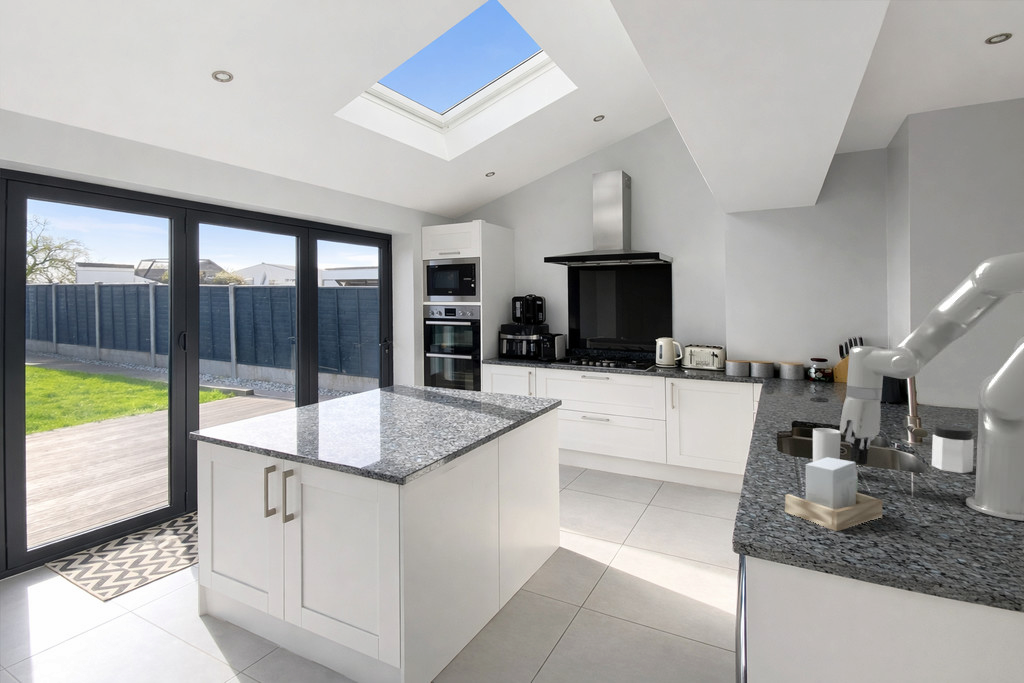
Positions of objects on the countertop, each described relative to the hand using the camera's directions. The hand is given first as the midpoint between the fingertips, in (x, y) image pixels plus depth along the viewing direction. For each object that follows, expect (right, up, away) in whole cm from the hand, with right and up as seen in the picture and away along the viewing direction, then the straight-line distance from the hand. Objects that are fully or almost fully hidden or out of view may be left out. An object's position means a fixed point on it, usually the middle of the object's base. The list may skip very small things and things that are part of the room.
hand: (858, 462), depth 132 cm
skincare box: (-19, -6, -19) cm, 27 cm away
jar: (+37, -5, +14) cm, 40 cm away
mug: (0, -6, +12) cm, 13 cm away
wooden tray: (-20, -7, -19) cm, 28 cm away
